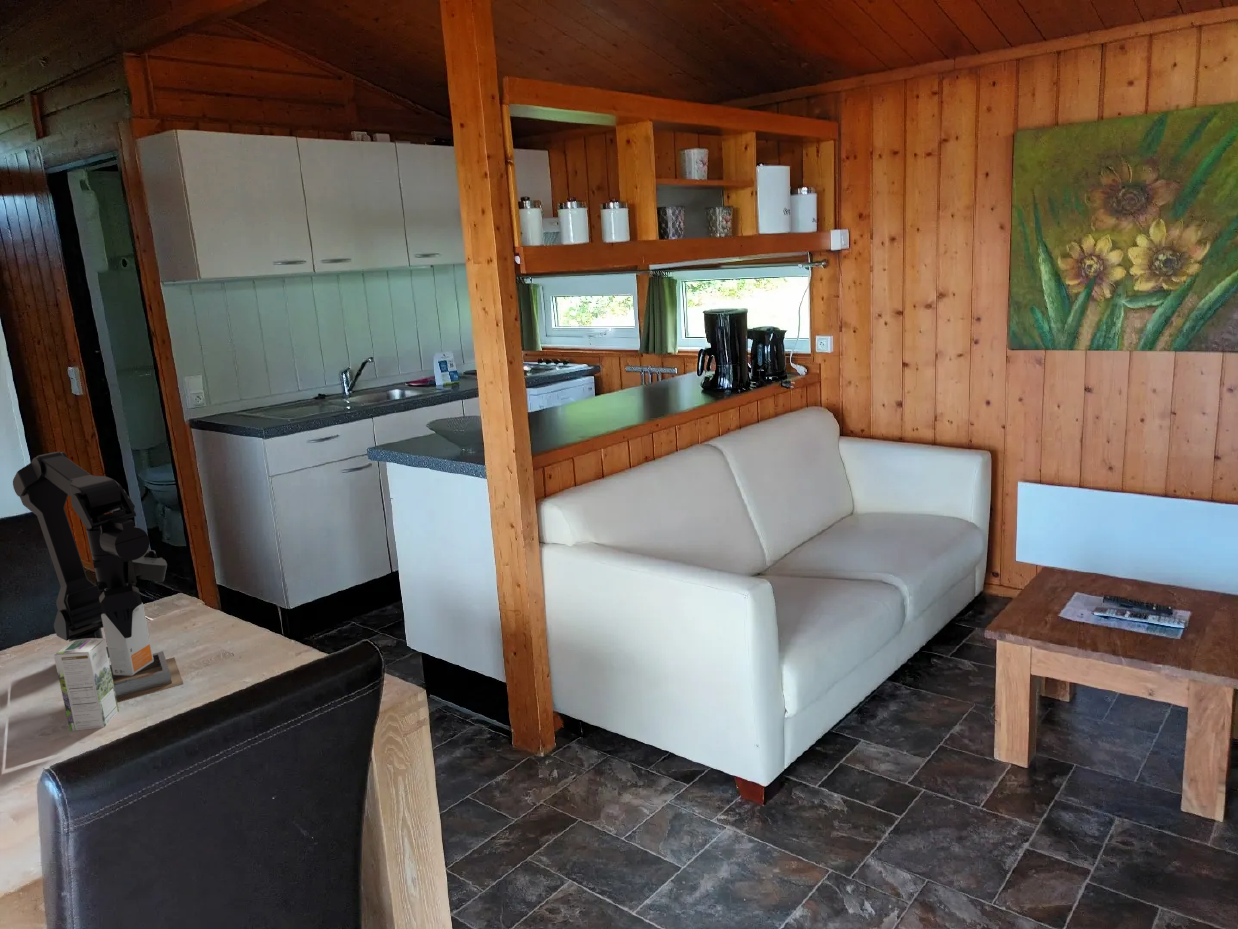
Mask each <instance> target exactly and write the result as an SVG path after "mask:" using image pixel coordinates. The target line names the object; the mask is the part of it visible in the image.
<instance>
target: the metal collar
mask: <svg viewBox="0 0 1238 929" xmlns="http://www.w3.org/2000/svg"><path fill="white" fill-rule="evenodd" d="M152 654H153V659H154V662H152V663H151V664H149V665H147V666H146V667H144V668H143V669H141V670H140V671H138V672H141V671H145V670H149V669H152V668H156V667H161V670H162V671H159V672H155V673H151V674H148V675H144V676H140V677H136V678H133V679H129V680H125V681H122V682H118V683H114V689H115V694H116V699H117V698H120V697H124V696H128V695H131V694H135V693H138V692H142V691H146V690H149V689H153V688H156V687H160V686H164V685H167V684H171V683H172V681H171V676H170V671H169V668H168V665H167V662H166V655H165V653H164V650H162V651H159V652H155V653H152ZM110 669H111V674H112V679H115V678H119V677H123V676H126V675H113V671H112V666H111V664H110ZM138 672H137V673H138Z"/></svg>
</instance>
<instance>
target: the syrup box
mask: <svg viewBox="0 0 1238 929" xmlns="http://www.w3.org/2000/svg"><path fill="white" fill-rule="evenodd" d="M106 647H107V644H106V638H104V637H103V638H89V639H79V640H74V641H70V642H68V643H67V644H66V645H65V646H63V647H62V648H61V649H60V650H59V651H58V652H56V654H54V656H53V658H54V663H55V667H56V671H57V676H58V681H59V686H60V690H61V696H62V701H63V704H64V709H65V714H66V717H67V723H68V727H69V731H70V732H72V731H74V732H75V731H82V730H90V729H99V728H105V727H106V726H107V725H108V724H109V723H110V722H111V721H112V719H113V718H114V717H115V716H116V715H117V714H118V713H119V711H120V709H119V704H118V703H119V702H118V703H117V699H116V694H115V689H114V684H113V679H112V674H111V669H110V665H111V663H110V658H108V654H107V649H106Z"/></svg>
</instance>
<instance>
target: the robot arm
mask: <svg viewBox="0 0 1238 929" xmlns="http://www.w3.org/2000/svg"><path fill="white" fill-rule="evenodd" d="M12 486H13V491H14V493H15V494H16V496H17V497H19V498H20V501H21V503H22V505H23V506H24V507H25V508H26V509H27V510H29V511H31V512H32V513H33V514H34V515H35V516H36V517H37V520H38V523H39V526H40V529H41V532H42V535H43V538H44V541H45V545H46V546H47V549H48V553H49V556H50V558H51V559H50V560H51V562H52V565H53V568H54V571H55V573H56V577H57V579H58V583H59V585H60V589H59V592H58V595H57V598H56V602H55V604H56V607H57V611H56V615H55V618H54V622H53V628H54V631H55V634H56V636H57V637H59V638H60V639H62V640H64V641H69V642H70V641H74V640H79V639H89V638H103V639H104V635H103V631H102V628H103V629H104V627H103V623H102V618H101V615H102V614H105V615H106V616H107V617H108V618H109V620H110V621H111V622H112V623H113V624H114V625H115V627H116V628H117V629H118V630H119V632H120V633H121V634H122V635H123V637H124V638H130V637H131V636H132V616H133V610H134V609H135V608H136V607H137V606H139V605H141V604H142V603H143V602H142V598H141V593H140V589H139V587H136V584H137V583H138V579H139V580H147V581H155V582H156V583H157V582H158V583H159V582H160V583H162V582H164V581H165V577H166V573H167V572H166V571H167V568H168V563H167V561H166V560H165V559H164V558H163V557H158V555H157V553H156V550H153V549H149V548H150V542H151V541H150V536H149V535H148V534H147V532H146V531H145V530H144V529H142V528H141V527H137V526H135V523H134V520H132V518H136V517H137V513H136V511H135V504H134V503H133V501H132V500H131V498H130V496H129V495H128V493H127V492H126V490H125V489H124V488H123V486H122V485H121V484H120V483H119V482H117V481H116V480H115V479H114V478H111V477H109V476H105V475H93V474H90V473H89V472H87V470H85V469H83V468H82V467H80V466H79V465H78V464H76V463H75V462H73V461H72V460H71V459H69V457H68V456H67V454H66V453H65V451H53V452H50V453H49V452H48V453H44V454H39V455H36V457H33V459H32V460H31V461H30V463H28V464H27V465H25V466H24V467H22V468H21V469H19V470H18V471H16V474H15V475H14V478H13V480H12ZM68 496H69V497H70V503H71V506H72V509H73V511H74V512H75V513H76V514H77V517H78V518H79V519H80V521H81V523H82V525H83V526H84V527H85V530H86V531H85V532H86V535H87V540H88V545H89V549H90V553H91V559H92V564H93V568H94V572H95V573H94V577H95V582H96V584H95V583H93V582H92V581H91V580H89V578H88V576H87V573H86V571H85V567H84V564H83V561H82V559H81V554H80V552H79V548H78V546H77V543H76V541H75V536H74V534H73V532H72V528H71V525H70V522H69V519H68V516H67V513H66V509H65V507H66V506H65V505H66V503H67V500H68ZM69 642H68V643H69ZM106 649H107V654H108V659H110V656H109V652H108V647H107V646H106Z"/></svg>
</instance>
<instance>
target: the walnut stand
mask: <svg viewBox="0 0 1238 929" xmlns="http://www.w3.org/2000/svg"><path fill="white" fill-rule="evenodd" d="M165 659H166V658H165ZM166 662H167V665H168V668H169V671H170V676H171V681H172V683H171V684H167V685H164V686H160V687H156V688H153V689H149V690H146V691H142V692H138V693H135V694H131V695H128V696H124V697H120V698H117V703H121V702H124V701H128V700H132V699H135V698H138V697H139V698H140V697H142V696H147V695H149V694H153V693H156V692H159V691H164V690H167V689H168V690H169V689H171V688H175V687H177V686H182V685H184V681H183V678H182V675H181V672H180V669H179V667H178V664H177V662H176V658H175V657H171V658H167V659H166ZM159 671H162V670H161V667H156V668H152V669H149V670H145V671H141V672H138V673H135V674H134V675H133V676H123V677H119V678H115V679H113V684H114V683H118V682H122V681H125V680H129V679H133V678H136V677H140V676H144V675H148V674H151V673H155V672H159Z"/></svg>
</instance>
